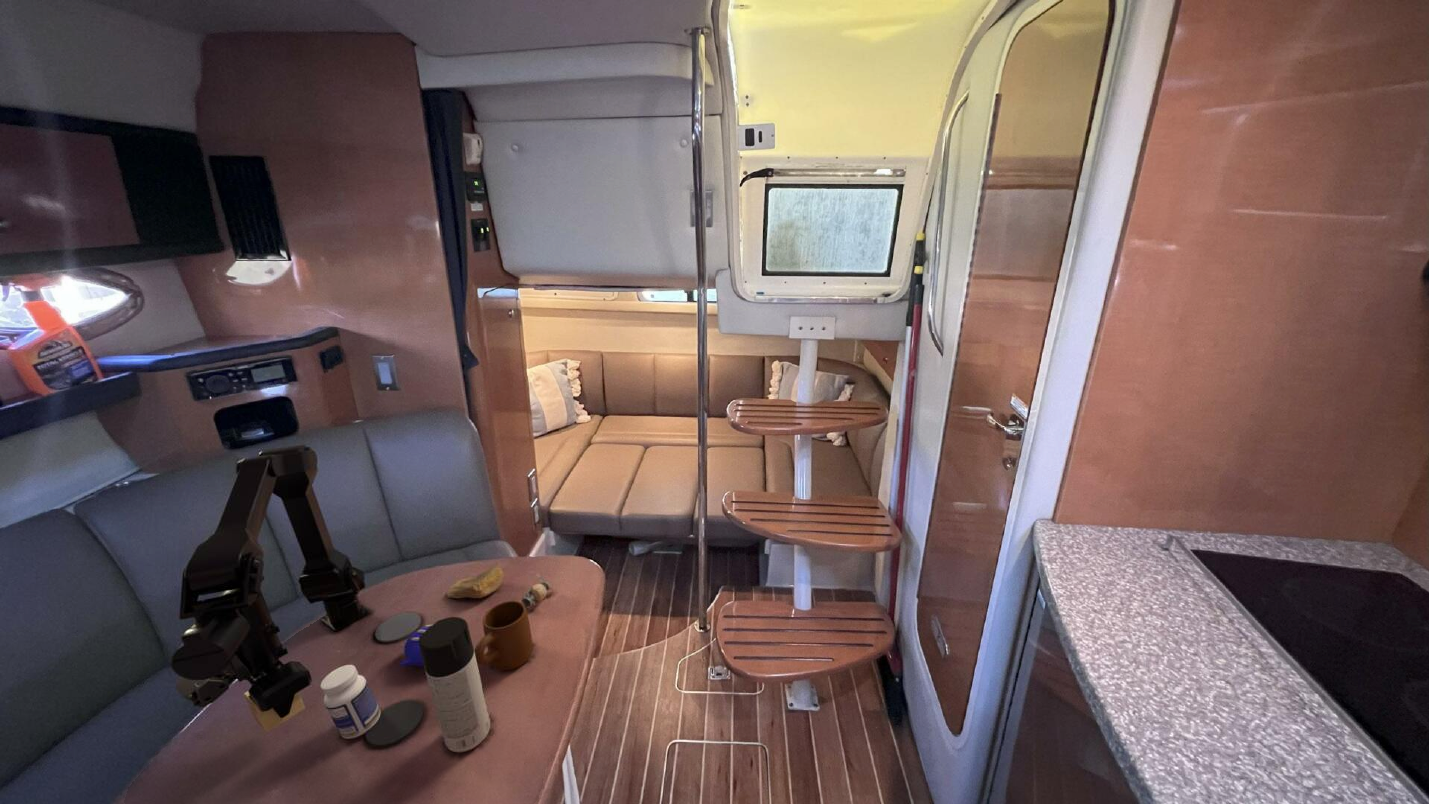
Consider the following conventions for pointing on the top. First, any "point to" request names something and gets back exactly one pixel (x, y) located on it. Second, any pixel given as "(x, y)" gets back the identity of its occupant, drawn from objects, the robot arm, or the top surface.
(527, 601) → the vase
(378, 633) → the coaster
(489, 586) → the stone
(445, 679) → the spray can
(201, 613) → the robot arm
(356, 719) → the pill bottle
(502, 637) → the mug
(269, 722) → the block
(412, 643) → the decorative object
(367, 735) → the coaster
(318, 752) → the top surface
